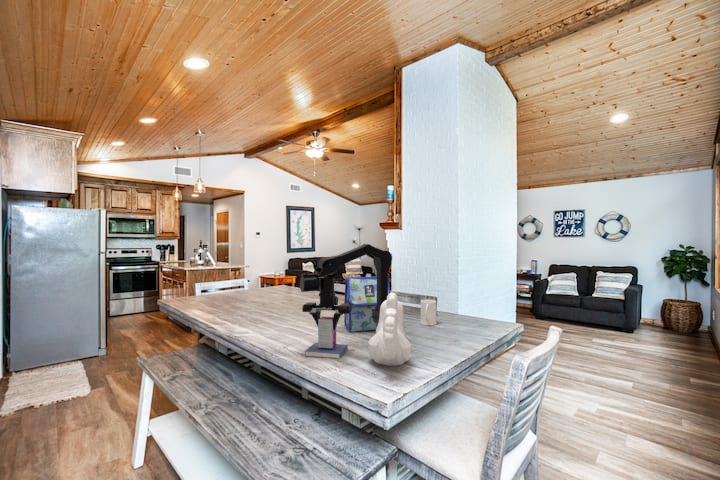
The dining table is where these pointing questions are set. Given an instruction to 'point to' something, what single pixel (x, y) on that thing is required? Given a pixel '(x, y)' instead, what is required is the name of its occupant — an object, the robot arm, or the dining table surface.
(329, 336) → the supplement box
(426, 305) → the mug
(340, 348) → the notebook
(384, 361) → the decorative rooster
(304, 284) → the robot arm
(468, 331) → the dining table surface
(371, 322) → the lunch bag
